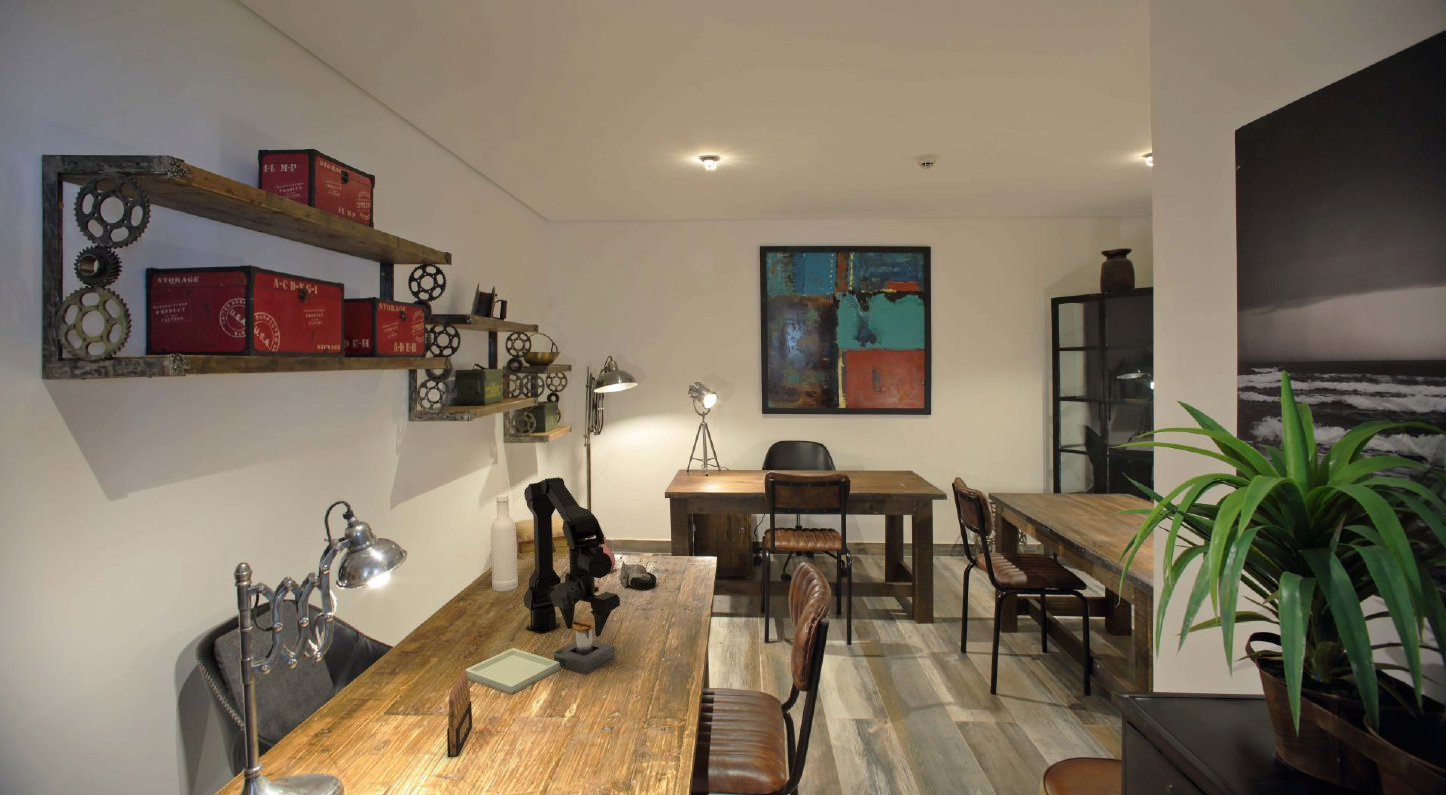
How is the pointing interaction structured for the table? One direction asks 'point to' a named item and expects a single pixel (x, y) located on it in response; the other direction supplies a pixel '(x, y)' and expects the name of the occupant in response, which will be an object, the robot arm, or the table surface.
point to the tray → (512, 670)
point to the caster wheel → (637, 576)
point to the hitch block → (584, 657)
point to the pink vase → (607, 551)
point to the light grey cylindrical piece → (583, 636)
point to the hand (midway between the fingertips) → (583, 632)
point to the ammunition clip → (459, 715)
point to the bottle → (503, 548)
